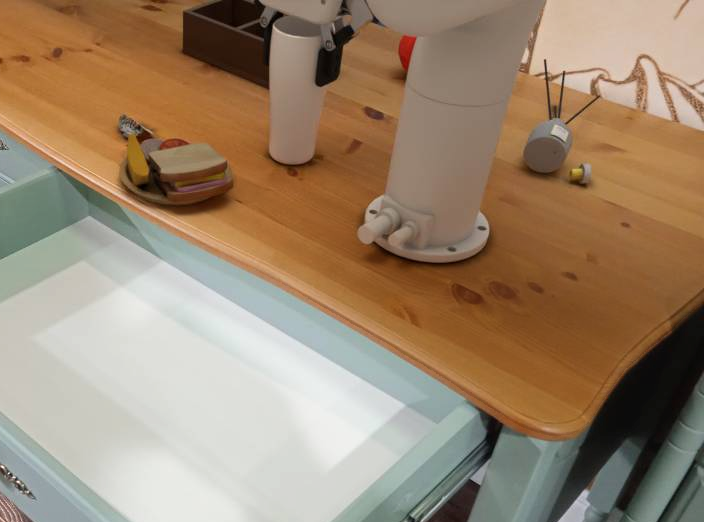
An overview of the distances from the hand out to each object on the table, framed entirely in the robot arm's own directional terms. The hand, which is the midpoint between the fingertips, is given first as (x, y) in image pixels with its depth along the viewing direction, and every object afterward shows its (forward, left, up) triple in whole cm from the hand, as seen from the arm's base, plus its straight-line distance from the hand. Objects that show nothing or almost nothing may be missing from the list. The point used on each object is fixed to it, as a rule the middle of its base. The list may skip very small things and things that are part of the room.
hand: (299, 71), depth 93 cm
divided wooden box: (+17, +21, -10) cm, 29 cm away
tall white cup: (0, 0, -10) cm, 10 cm away
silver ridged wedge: (-11, +17, -9) cm, 22 cm away
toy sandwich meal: (-14, +5, -10) cm, 18 cm away
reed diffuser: (+26, -20, -10) cm, 34 cm away
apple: (+30, +2, -10) cm, 32 cm away
